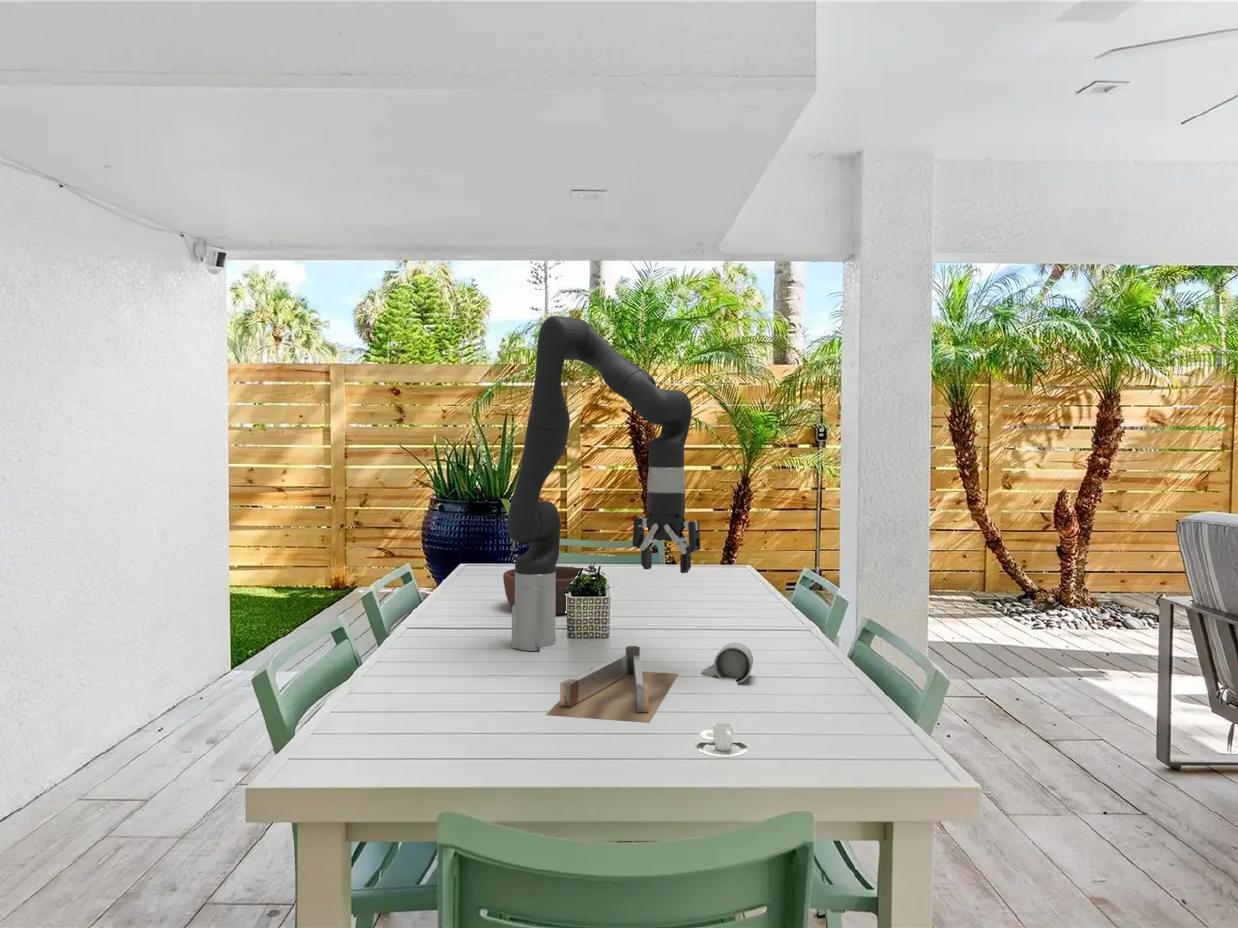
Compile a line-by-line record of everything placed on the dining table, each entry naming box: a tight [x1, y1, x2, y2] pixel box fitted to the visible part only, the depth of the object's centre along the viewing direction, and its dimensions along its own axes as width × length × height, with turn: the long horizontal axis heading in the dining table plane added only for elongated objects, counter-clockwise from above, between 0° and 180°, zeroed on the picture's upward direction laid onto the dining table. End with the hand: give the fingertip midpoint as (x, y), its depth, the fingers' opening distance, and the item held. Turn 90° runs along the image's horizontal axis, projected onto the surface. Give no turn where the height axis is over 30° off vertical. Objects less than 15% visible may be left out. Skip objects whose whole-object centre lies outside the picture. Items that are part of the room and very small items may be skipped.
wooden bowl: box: [502, 565, 590, 616], centre depth 258 cm, size 25×25×10 cm
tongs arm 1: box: [559, 653, 628, 707], centre depth 174 cm, size 24×2×4 cm, turn 155°
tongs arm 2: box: [633, 654, 649, 712], centre depth 172 cm, size 24×2×4 cm, turn 1°
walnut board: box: [545, 645, 679, 724], centre depth 173 cm, size 18×32×6 cm, turn 168°
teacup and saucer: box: [696, 721, 749, 758], centre depth 146 cm, size 9×8×4 cm
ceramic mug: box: [700, 642, 754, 685], centre depth 187 cm, size 10×8×7 cm
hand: (665, 570), depth 186 cm, fingers open, 8 cm apart
